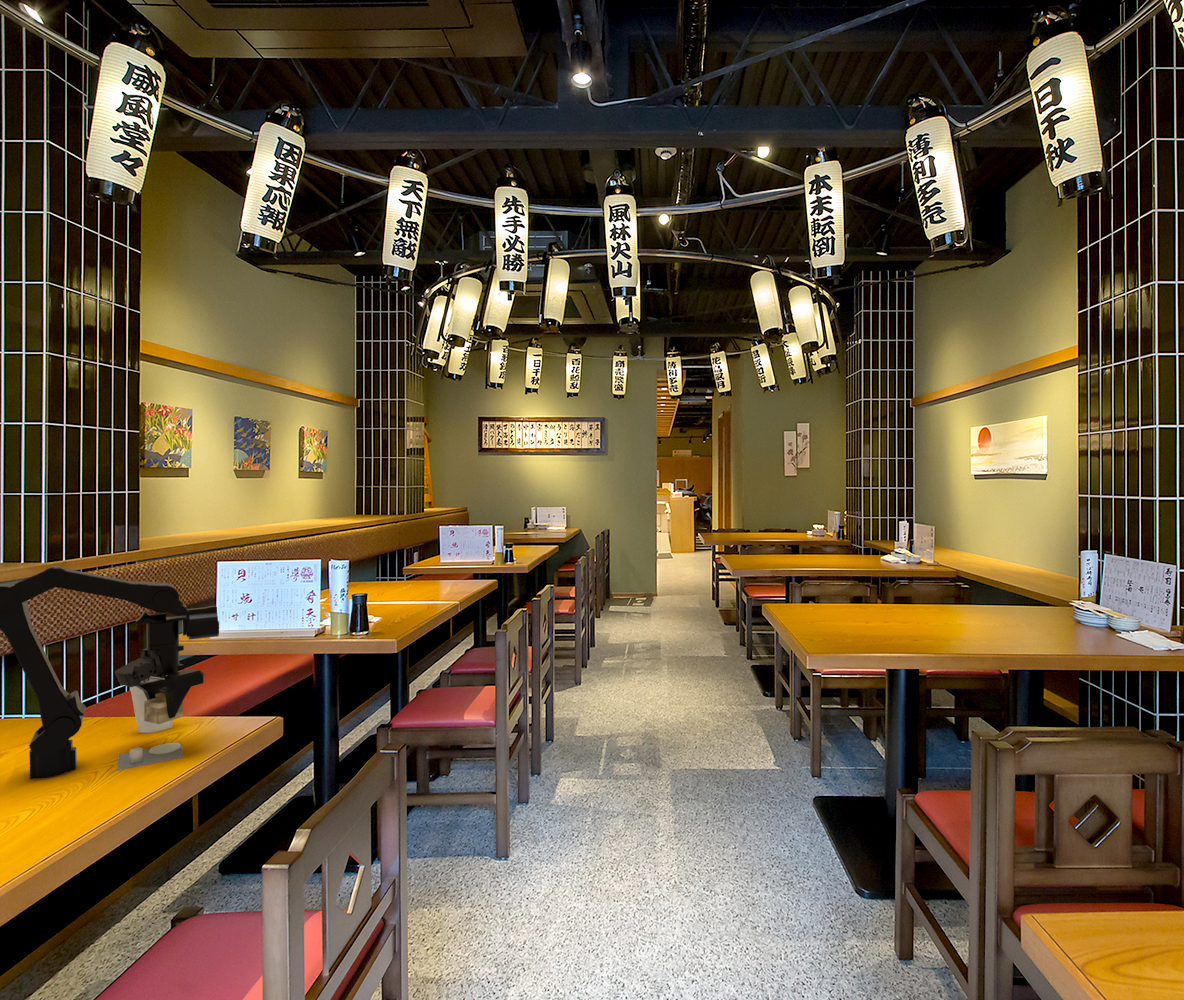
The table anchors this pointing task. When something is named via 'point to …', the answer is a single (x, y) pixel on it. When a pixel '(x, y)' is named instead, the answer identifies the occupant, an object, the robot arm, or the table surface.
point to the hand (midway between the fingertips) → (163, 716)
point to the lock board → (149, 755)
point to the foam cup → (138, 704)
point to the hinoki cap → (159, 710)
